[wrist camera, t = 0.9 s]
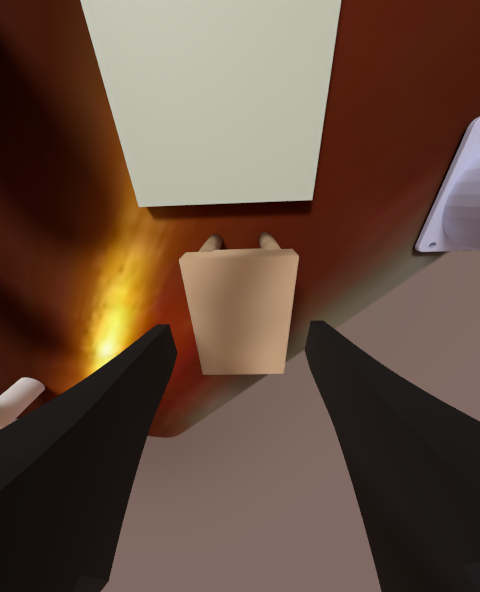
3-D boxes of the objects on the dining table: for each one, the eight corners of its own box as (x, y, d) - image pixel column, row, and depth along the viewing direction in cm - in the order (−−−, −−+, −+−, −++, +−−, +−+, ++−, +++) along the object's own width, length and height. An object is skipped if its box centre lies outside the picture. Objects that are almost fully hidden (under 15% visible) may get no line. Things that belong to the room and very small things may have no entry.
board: (340, -52, 8) (352, -82, 7) (307, 199, 13) (312, 200, 12) (82, -32, 8) (64, -58, 8) (145, 206, 13) (138, 206, 12)
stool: (274, 229, 14) (298, 256, 8) (269, 313, 18) (283, 373, 12) (206, 232, 14) (178, 259, 8) (216, 314, 18) (203, 374, 12)
